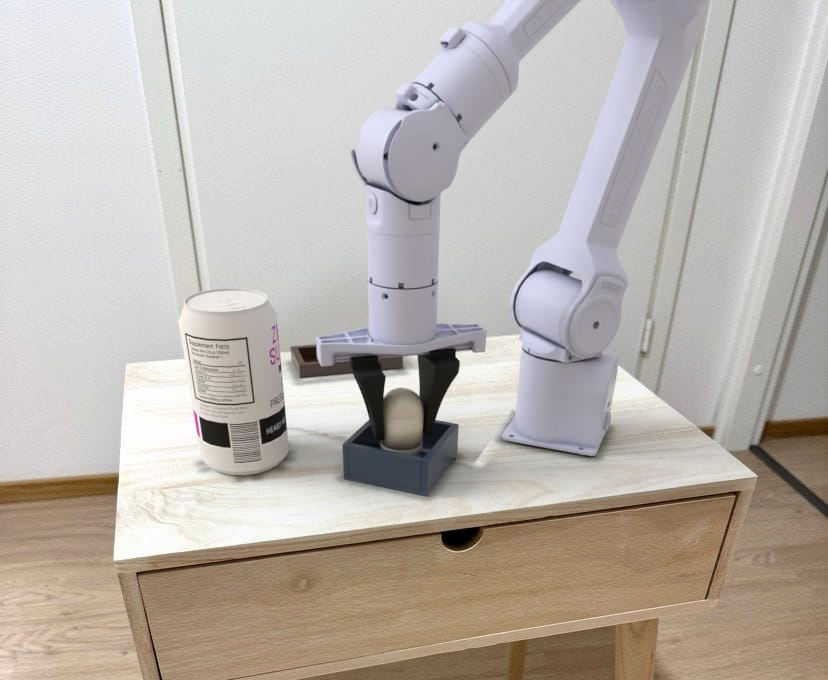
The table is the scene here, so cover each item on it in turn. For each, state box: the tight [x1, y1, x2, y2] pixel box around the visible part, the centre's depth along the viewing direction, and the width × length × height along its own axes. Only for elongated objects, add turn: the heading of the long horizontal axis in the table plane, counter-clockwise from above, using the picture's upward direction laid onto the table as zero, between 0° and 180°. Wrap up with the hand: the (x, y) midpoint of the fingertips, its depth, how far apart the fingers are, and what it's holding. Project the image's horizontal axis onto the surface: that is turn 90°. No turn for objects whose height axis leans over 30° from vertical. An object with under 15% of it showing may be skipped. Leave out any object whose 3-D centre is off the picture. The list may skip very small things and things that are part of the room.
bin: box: [341, 419, 460, 497], centre depth 70 cm, size 8×8×4 cm
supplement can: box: [178, 287, 289, 476], centre depth 68 cm, size 8×8×15 cm
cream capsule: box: [380, 387, 424, 456], centre depth 69 cm, size 4×4×7 cm
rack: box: [290, 343, 404, 379], centre depth 91 cm, size 7×12×2 cm, turn 106°
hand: (401, 432), depth 69 cm, fingers closed on cream capsule, 4 cm apart
